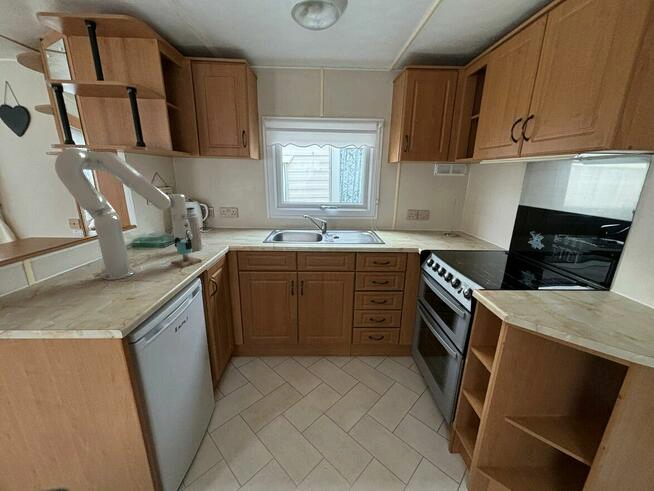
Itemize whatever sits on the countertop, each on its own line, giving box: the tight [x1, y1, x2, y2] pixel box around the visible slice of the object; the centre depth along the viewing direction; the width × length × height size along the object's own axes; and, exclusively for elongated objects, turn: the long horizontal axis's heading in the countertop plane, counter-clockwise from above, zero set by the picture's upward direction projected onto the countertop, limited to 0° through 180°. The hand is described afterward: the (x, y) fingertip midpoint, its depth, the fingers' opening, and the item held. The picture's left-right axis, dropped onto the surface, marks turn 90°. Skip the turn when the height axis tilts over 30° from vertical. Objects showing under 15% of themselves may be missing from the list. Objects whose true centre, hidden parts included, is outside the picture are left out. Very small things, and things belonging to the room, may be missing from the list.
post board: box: [170, 256, 202, 269], centre depth 150 cm, size 11×11×2 cm
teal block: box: [176, 240, 193, 255], centre depth 148 cm, size 7×7×6 cm
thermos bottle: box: [186, 207, 203, 252], centre depth 173 cm, size 8×8×28 cm
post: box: [181, 253, 190, 261], centre depth 149 cm, size 3×3×10 cm
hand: (183, 247), depth 148 cm, fingers open, 9 cm apart
